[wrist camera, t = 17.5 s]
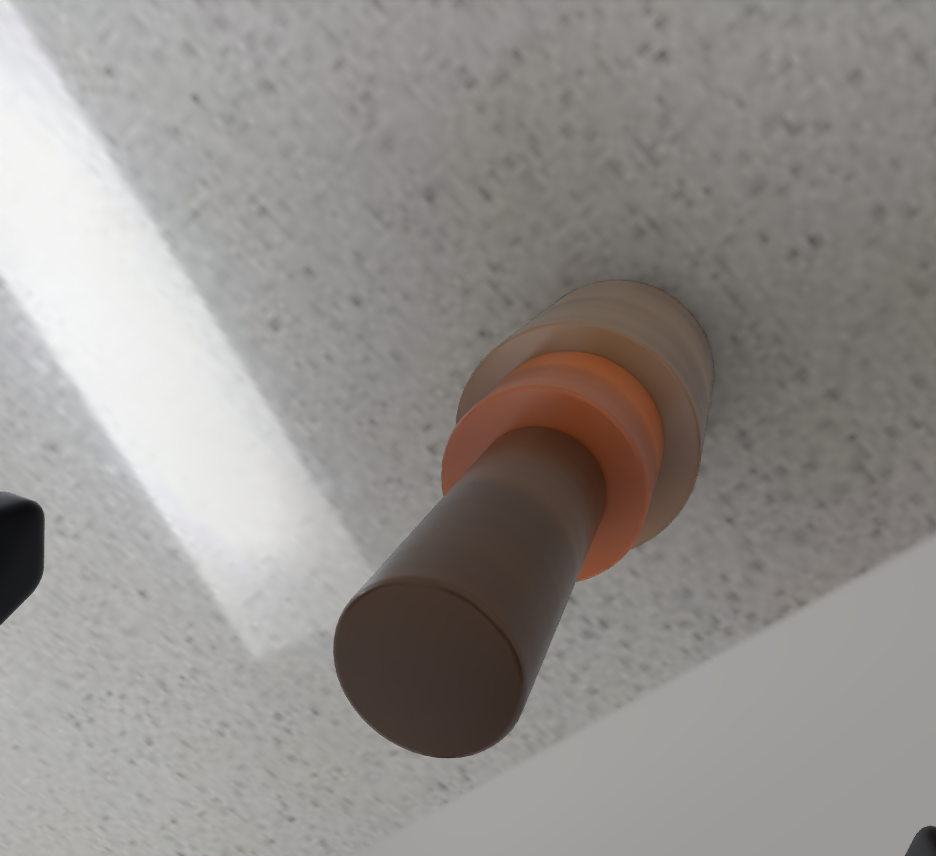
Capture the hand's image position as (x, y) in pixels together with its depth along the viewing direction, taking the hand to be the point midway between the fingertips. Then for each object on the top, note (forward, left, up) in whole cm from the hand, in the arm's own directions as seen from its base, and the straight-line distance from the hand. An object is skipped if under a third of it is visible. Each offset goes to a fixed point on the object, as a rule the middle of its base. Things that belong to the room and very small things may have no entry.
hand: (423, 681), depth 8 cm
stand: (0, 0, -13) cm, 13 cm away
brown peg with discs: (0, 0, -8) cm, 8 cm away
